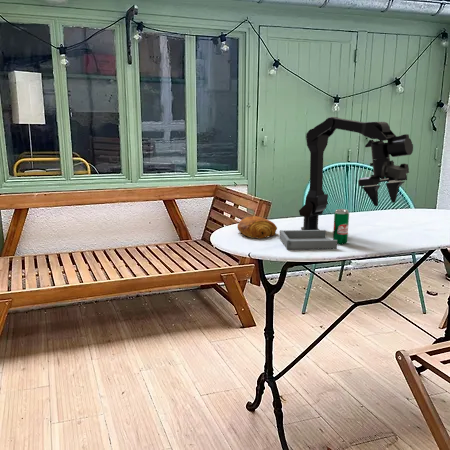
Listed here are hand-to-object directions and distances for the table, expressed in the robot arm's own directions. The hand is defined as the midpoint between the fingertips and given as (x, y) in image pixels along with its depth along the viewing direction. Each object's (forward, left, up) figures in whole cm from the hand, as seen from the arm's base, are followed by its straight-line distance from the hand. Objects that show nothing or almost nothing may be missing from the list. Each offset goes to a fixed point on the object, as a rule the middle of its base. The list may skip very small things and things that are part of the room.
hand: (385, 204), depth 158 cm
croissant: (-19, -42, -15) cm, 48 cm away
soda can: (-4, -14, -15) cm, 21 cm away
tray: (-4, -26, -15) cm, 30 cm away
